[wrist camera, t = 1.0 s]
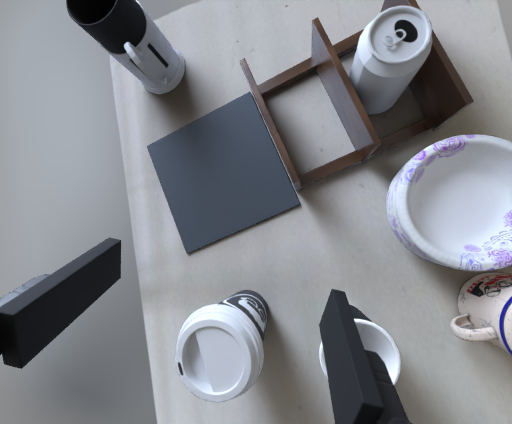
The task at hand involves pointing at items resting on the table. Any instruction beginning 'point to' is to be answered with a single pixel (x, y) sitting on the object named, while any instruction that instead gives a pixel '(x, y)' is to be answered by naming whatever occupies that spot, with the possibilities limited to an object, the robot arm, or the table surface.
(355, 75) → the can
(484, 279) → the teacup with lid
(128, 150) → the table surface
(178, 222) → the mat
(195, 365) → the coffee cup
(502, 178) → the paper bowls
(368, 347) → the dixie cup
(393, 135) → the rack
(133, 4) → the glass holder
